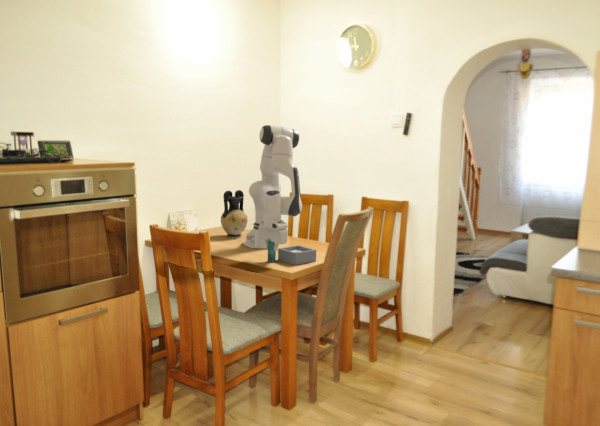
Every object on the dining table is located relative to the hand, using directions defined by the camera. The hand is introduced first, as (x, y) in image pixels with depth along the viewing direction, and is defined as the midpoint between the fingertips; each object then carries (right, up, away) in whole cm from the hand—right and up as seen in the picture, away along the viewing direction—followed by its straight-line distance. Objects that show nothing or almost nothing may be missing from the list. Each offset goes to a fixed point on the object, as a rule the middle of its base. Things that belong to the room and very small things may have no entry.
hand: (271, 249), depth 238 cm
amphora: (-28, +3, +63) cm, 70 cm away
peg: (0, -6, +1) cm, 6 cm away
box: (+13, -6, +4) cm, 15 cm away
